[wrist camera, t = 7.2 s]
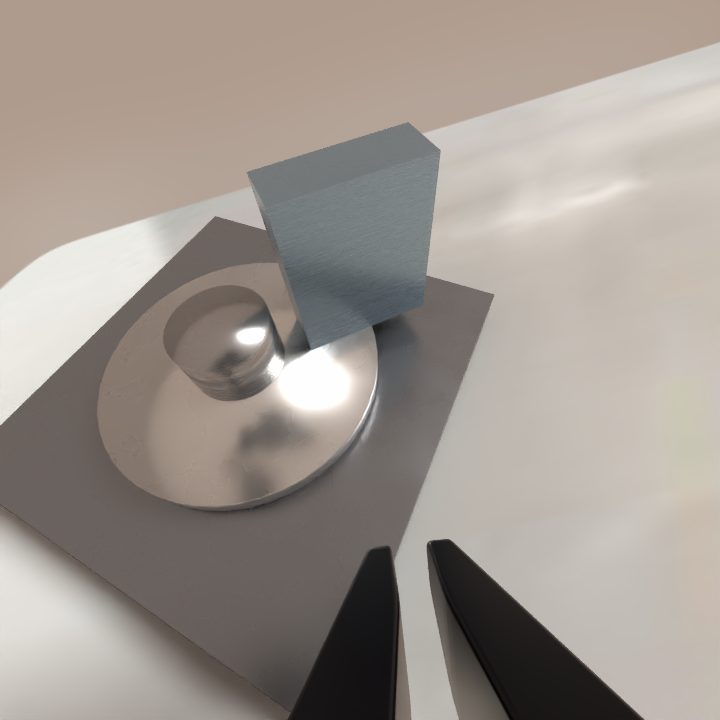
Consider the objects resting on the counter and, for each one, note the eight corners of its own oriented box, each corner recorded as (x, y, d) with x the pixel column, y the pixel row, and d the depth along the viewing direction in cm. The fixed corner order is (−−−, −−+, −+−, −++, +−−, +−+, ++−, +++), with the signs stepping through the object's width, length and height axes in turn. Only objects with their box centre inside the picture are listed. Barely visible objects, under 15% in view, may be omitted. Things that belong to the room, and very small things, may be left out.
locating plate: (333, 722, 12) (289, 823, 6) (-14, 480, 17) (-189, 431, 12) (487, 313, 20) (521, 218, 15) (224, 235, 25) (182, 144, 20)
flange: (125, 572, 13) (-178, 550, 6) (104, 326, 19) (-55, 178, 12) (481, 403, 15) (556, 250, 8) (360, 235, 21) (347, 69, 14)
